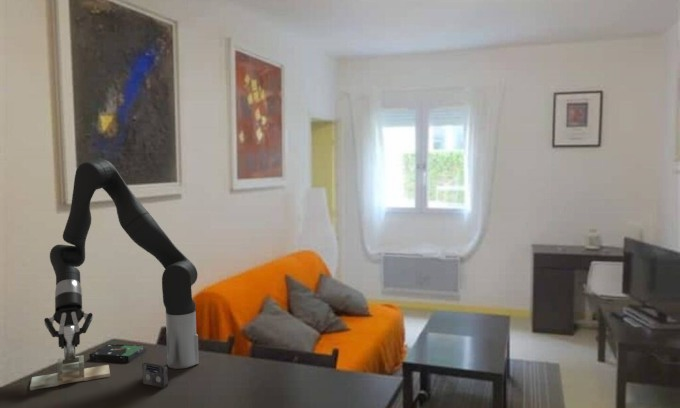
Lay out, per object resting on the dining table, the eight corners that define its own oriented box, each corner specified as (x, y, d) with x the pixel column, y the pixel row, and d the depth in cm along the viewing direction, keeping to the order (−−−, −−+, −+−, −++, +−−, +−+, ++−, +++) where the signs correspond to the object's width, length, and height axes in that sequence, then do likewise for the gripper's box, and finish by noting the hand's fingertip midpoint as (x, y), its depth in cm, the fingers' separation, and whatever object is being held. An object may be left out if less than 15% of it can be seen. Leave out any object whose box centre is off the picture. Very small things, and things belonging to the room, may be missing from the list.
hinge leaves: (108, 367, 164) (108, 350, 163) (110, 376, 156) (109, 358, 156) (32, 380, 154) (31, 362, 154) (30, 390, 147) (29, 371, 147)
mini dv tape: (167, 386, 149) (167, 366, 149) (164, 388, 148) (163, 367, 147) (146, 381, 152) (146, 361, 152) (143, 383, 151) (142, 363, 151)
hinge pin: (75, 356, 157) (74, 324, 156) (75, 359, 154) (74, 326, 154) (64, 357, 155) (63, 325, 155) (64, 361, 153) (63, 328, 152)
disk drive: (88, 362, 170) (129, 363, 168) (88, 354, 170) (129, 355, 168) (107, 351, 181) (146, 352, 178) (107, 343, 180) (146, 344, 178)
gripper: (42, 293, 157) (41, 344, 147) (93, 288, 163) (95, 336, 153) (43, 306, 162) (43, 356, 152) (93, 301, 168) (95, 348, 158)
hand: (69, 346), depth 153 cm, fingers closed on hinge pin, 3 cm apart
